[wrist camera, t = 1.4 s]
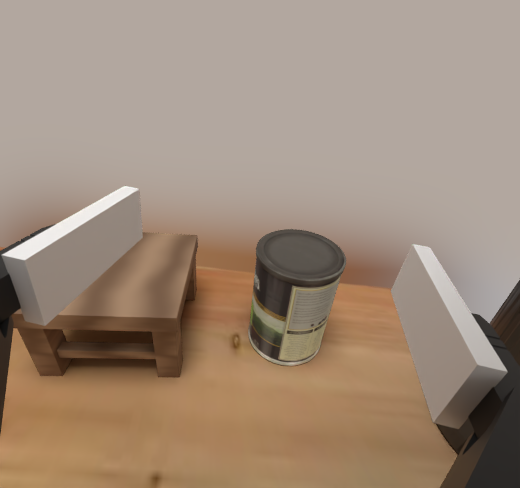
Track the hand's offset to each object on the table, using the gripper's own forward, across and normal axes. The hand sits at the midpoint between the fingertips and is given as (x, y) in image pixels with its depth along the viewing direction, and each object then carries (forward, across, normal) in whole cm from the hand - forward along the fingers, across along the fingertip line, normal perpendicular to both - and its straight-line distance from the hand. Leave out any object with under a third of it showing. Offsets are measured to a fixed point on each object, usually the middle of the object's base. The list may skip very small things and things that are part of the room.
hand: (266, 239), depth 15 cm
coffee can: (+18, +3, -25) cm, 31 cm away
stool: (+14, -17, -25) cm, 34 cm away
